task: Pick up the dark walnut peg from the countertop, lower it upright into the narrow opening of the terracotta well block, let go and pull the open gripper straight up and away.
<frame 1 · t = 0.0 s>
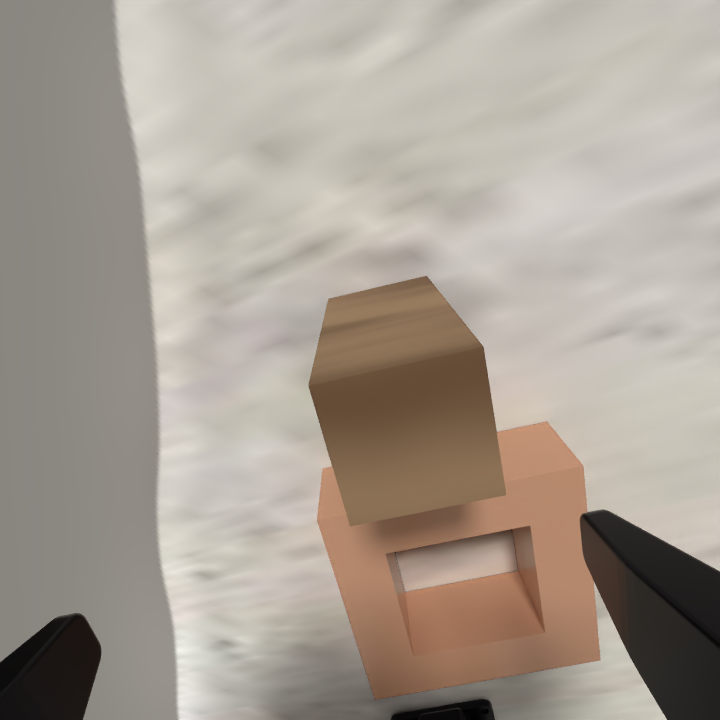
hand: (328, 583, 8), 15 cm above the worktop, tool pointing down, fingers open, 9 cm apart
terracotta well: (451, 536, 26), on the worktop
walnut peg: (387, 334, 22), on the worktop
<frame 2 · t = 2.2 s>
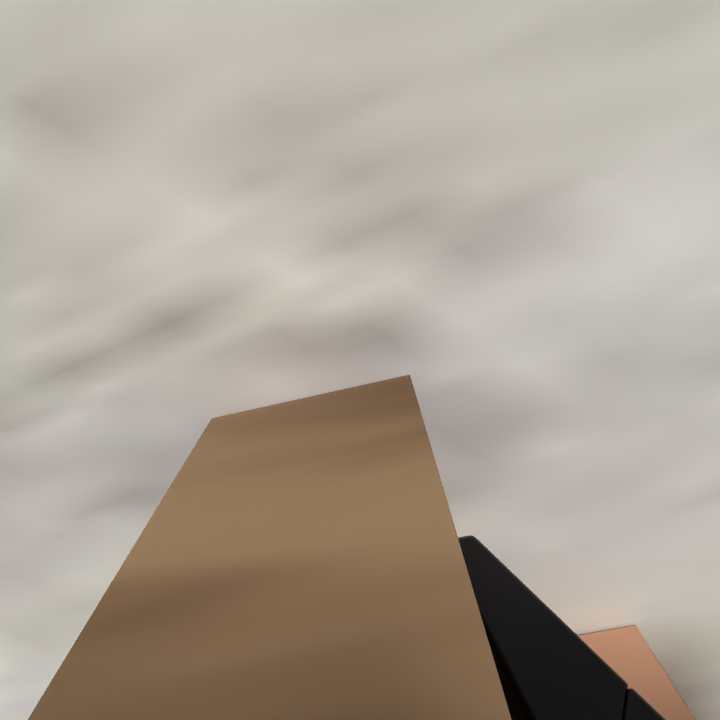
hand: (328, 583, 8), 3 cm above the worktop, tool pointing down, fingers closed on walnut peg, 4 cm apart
walnut peg: (334, 482, 11), on the worktop, touching gripper
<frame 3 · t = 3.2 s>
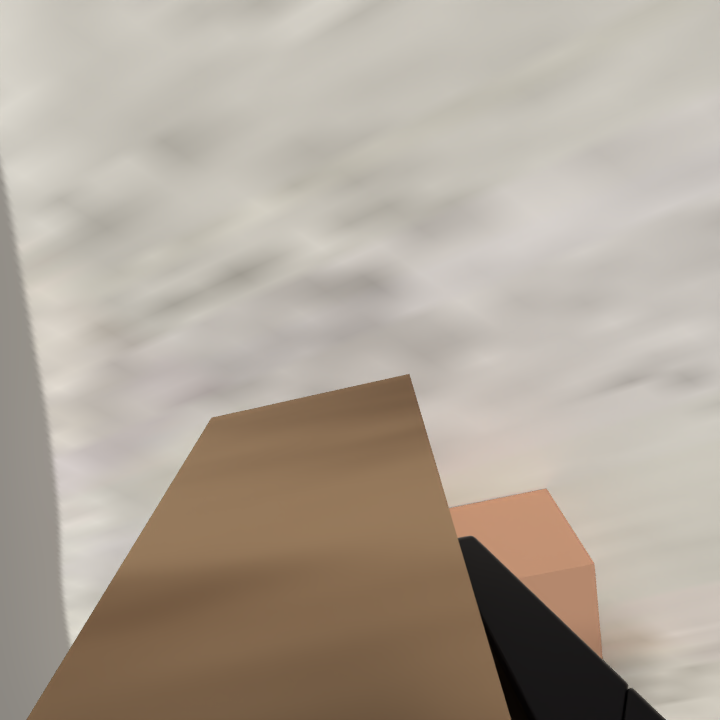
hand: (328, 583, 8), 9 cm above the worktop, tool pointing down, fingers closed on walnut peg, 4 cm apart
terracotta well: (429, 622, 21), on the worktop
walnut peg: (334, 481, 11), point 6 cm above the worktop, touching gripper
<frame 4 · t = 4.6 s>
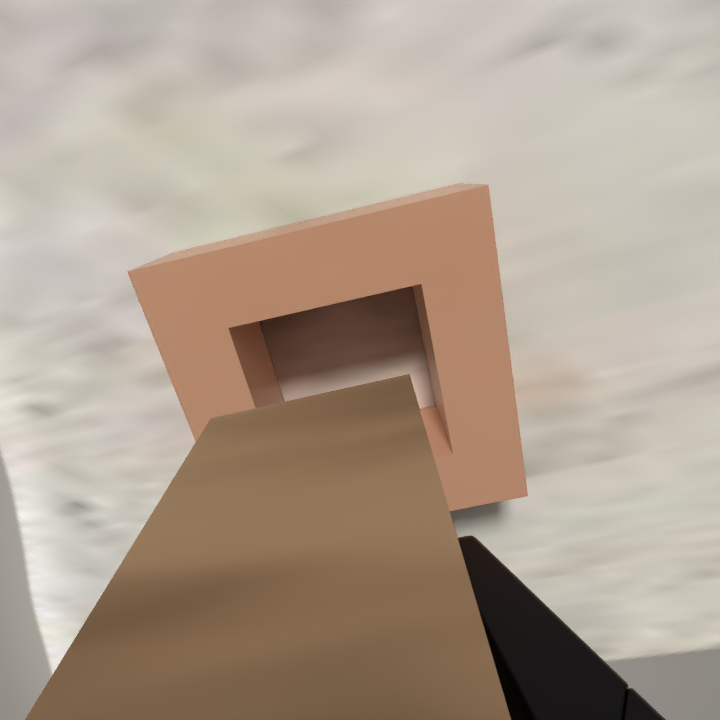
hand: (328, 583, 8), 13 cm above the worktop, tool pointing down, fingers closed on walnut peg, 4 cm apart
terracotta well: (347, 355, 21), on the worktop
walnut peg: (334, 481, 11), point 10 cm above the worktop, touching gripper
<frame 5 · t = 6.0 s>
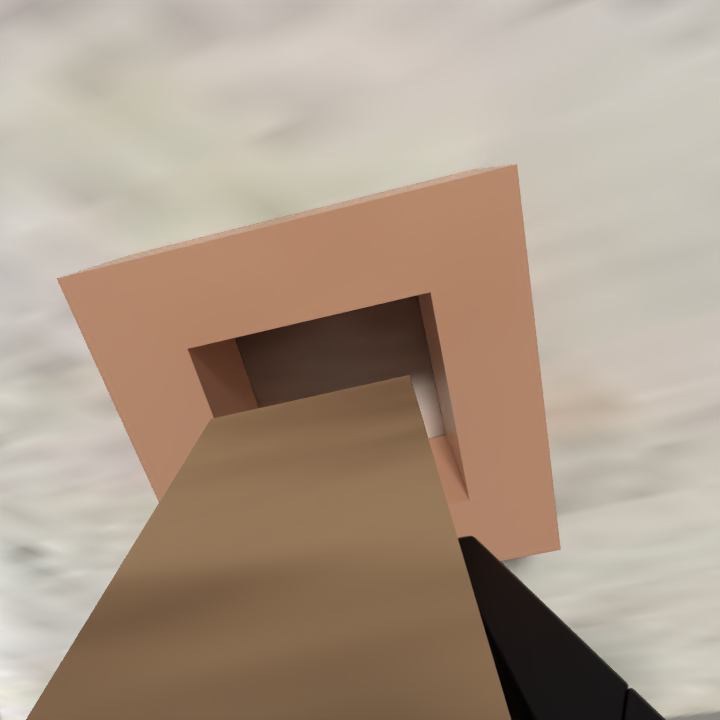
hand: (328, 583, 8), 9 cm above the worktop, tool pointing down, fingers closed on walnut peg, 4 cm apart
terracotta well: (341, 376, 17), on the worktop
walnut peg: (334, 482, 11), point 6 cm above the worktop, touching gripper
when the fingers open (5 cm above the worktop, at t = 7.2 s): walnut peg drops 2 cm, resting in terracotta well.
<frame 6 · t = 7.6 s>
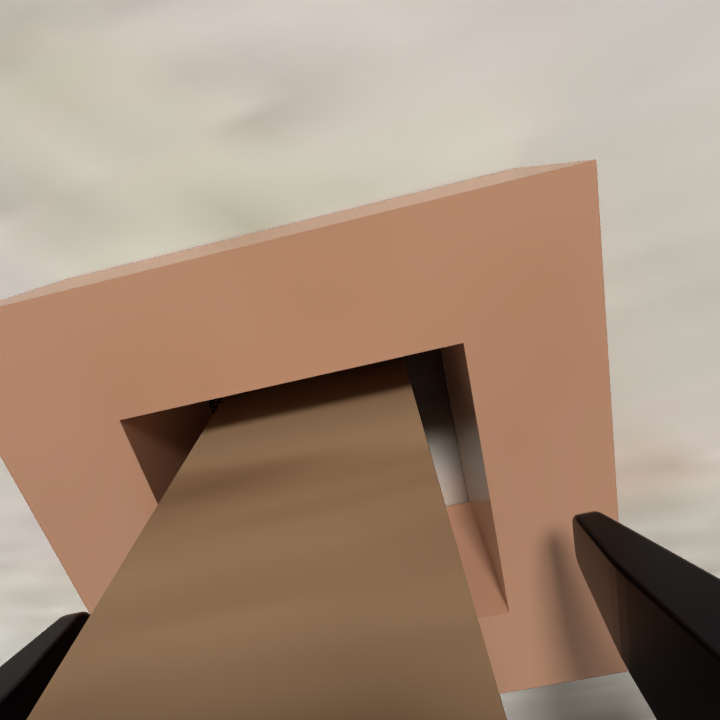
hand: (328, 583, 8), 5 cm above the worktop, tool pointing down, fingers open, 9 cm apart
terracotta well: (337, 431, 14), on the worktop
walnut peg: (336, 431, 14), resting in terracotta well
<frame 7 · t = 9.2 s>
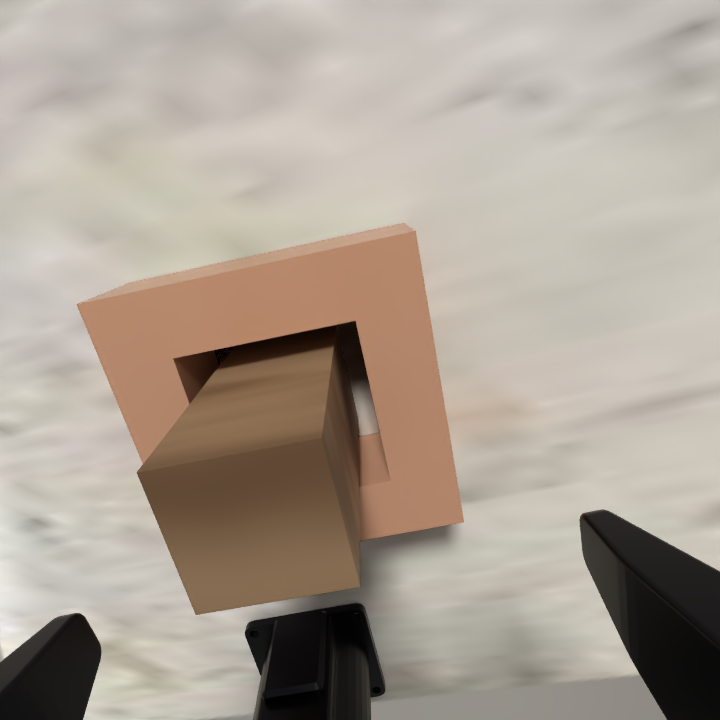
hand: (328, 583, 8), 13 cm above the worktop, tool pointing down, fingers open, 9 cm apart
terracotta well: (299, 381, 21), on the worktop
walnut peg: (298, 382, 21), resting in terracotta well
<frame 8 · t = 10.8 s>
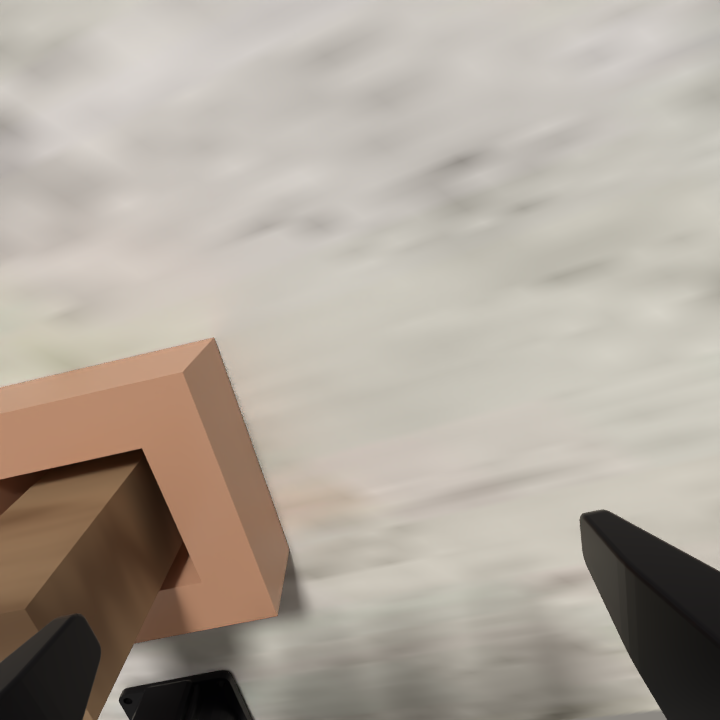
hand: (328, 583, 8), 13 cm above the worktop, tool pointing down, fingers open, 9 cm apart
terracotta well: (138, 477, 23), on the worktop
walnut peg: (138, 478, 23), resting in terracotta well
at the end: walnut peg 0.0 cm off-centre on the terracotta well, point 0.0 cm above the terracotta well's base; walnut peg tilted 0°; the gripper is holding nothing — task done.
